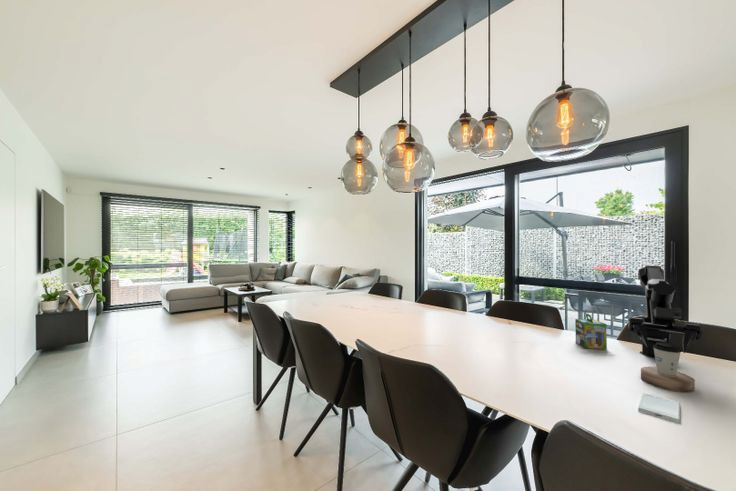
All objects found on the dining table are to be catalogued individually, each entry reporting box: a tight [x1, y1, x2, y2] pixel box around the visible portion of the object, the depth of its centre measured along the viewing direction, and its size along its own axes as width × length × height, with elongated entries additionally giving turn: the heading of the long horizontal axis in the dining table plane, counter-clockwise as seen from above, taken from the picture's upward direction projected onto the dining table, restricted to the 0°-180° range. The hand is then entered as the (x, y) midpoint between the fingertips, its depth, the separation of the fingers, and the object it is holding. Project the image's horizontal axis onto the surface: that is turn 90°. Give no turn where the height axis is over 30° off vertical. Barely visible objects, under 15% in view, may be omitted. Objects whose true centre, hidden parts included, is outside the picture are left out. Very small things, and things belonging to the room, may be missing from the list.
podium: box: [640, 366, 696, 393], centre depth 103 cm, size 13×13×3 cm
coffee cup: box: [653, 342, 682, 377], centre depth 104 cm, size 7×7×10 cm
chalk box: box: [574, 312, 608, 350], centre depth 141 cm, size 9×9×15 cm
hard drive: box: [637, 392, 681, 424], centre depth 87 cm, size 2×8×12 cm
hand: (665, 349), depth 106 cm, fingers open, 9 cm apart
